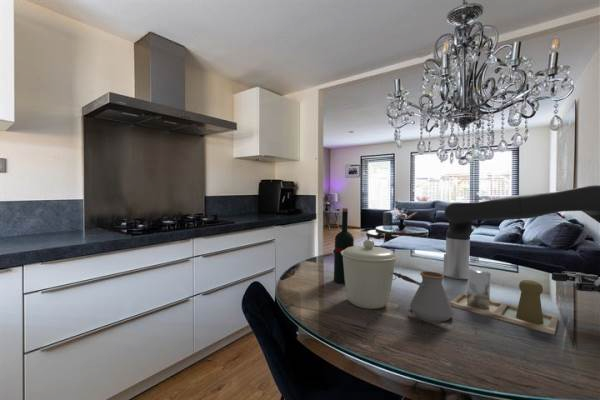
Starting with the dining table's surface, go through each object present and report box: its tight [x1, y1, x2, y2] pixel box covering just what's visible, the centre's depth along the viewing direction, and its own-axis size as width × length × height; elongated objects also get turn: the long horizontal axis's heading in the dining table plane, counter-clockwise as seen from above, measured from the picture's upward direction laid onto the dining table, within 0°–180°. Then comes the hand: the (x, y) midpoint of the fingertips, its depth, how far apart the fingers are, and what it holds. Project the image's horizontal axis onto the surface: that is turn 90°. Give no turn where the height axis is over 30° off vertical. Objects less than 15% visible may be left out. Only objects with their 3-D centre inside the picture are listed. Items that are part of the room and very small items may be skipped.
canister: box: [341, 238, 398, 310], centre depth 92 cm, size 18×18×21 cm
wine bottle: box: [333, 207, 355, 285], centre depth 113 cm, size 8×10×30 cm
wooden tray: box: [449, 292, 559, 336], centre depth 84 cm, size 25×12×2 cm, turn 44°
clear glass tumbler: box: [466, 268, 492, 310], centre depth 88 cm, size 6×6×11 cm
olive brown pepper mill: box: [516, 279, 544, 325], centre depth 79 cm, size 6×6×11 cm
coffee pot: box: [390, 270, 454, 325], centre depth 80 cm, size 21×12×15 cm, turn 115°
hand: (564, 281), depth 81 cm, fingers open, 8 cm apart
